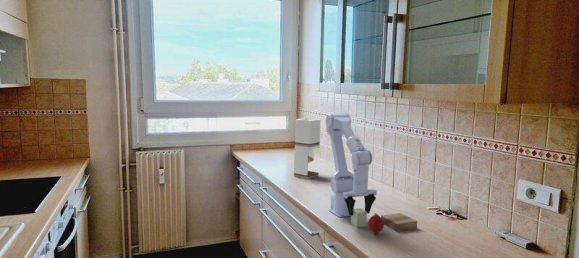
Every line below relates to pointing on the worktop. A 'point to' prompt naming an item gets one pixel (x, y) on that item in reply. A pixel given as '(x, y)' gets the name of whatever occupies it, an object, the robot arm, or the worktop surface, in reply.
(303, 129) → the white coffee machine
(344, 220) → the worktop surface
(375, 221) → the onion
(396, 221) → the walnut base
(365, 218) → the sage block
